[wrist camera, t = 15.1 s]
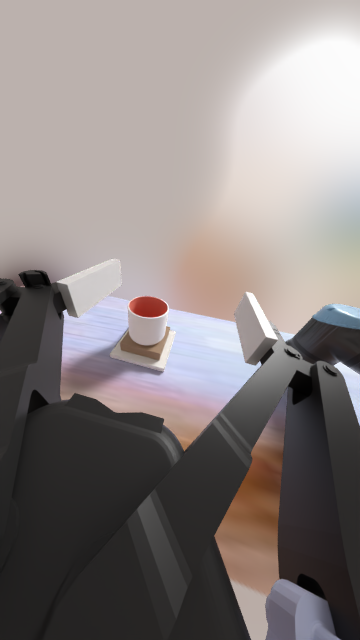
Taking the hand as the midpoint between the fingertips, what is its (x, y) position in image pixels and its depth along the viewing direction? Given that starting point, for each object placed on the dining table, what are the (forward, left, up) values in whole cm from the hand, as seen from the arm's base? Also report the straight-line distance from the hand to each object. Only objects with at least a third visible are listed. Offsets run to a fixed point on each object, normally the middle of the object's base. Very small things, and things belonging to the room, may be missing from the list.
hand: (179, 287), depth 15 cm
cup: (+8, -15, -24) cm, 29 cm away
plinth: (+8, -15, -28) cm, 33 cm away
